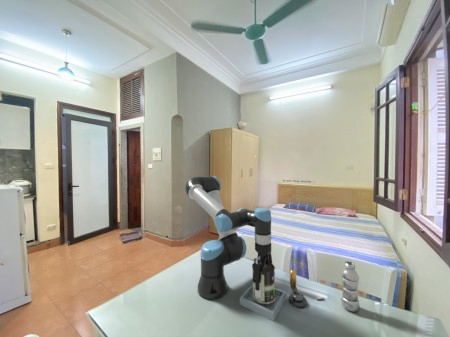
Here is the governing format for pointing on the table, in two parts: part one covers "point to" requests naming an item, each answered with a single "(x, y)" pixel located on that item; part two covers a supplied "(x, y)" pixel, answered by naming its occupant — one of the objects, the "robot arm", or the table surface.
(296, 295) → the crank
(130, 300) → the table surface
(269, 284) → the coffee can
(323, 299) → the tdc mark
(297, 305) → the crank base
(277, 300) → the tray
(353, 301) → the plastic bottle
